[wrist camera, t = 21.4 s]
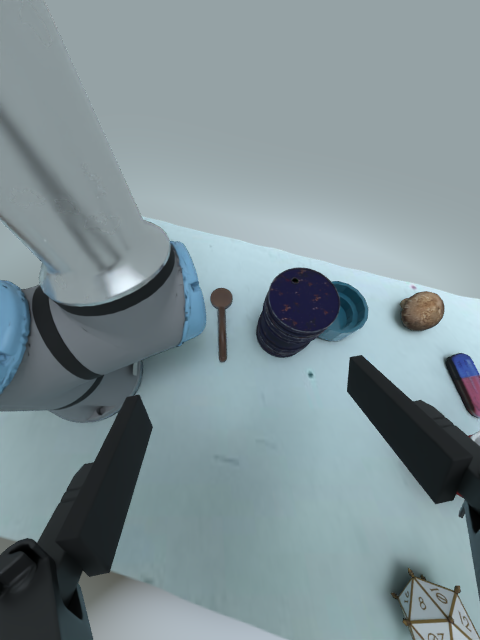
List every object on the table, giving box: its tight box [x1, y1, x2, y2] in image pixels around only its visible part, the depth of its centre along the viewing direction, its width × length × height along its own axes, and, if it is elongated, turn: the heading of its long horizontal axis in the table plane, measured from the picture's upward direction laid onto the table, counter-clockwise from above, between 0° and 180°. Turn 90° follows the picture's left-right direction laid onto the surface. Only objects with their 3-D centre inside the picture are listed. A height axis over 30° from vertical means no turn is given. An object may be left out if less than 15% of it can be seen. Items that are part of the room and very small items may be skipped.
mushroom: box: [400, 291, 444, 331], centre depth 44 cm, size 8×8×6 cm
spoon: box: [211, 288, 232, 362], centre depth 43 cm, size 15×4×1 cm, turn 3°
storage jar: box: [256, 268, 340, 358], centre depth 37 cm, size 10×10×15 cm
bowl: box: [318, 281, 368, 341], centre depth 43 cm, size 10×10×6 cm
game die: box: [391, 568, 480, 640], centre depth 27 cm, size 9×8×10 cm
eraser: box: [446, 353, 480, 418], centre depth 40 cm, size 11×4×2 cm, turn 9°
